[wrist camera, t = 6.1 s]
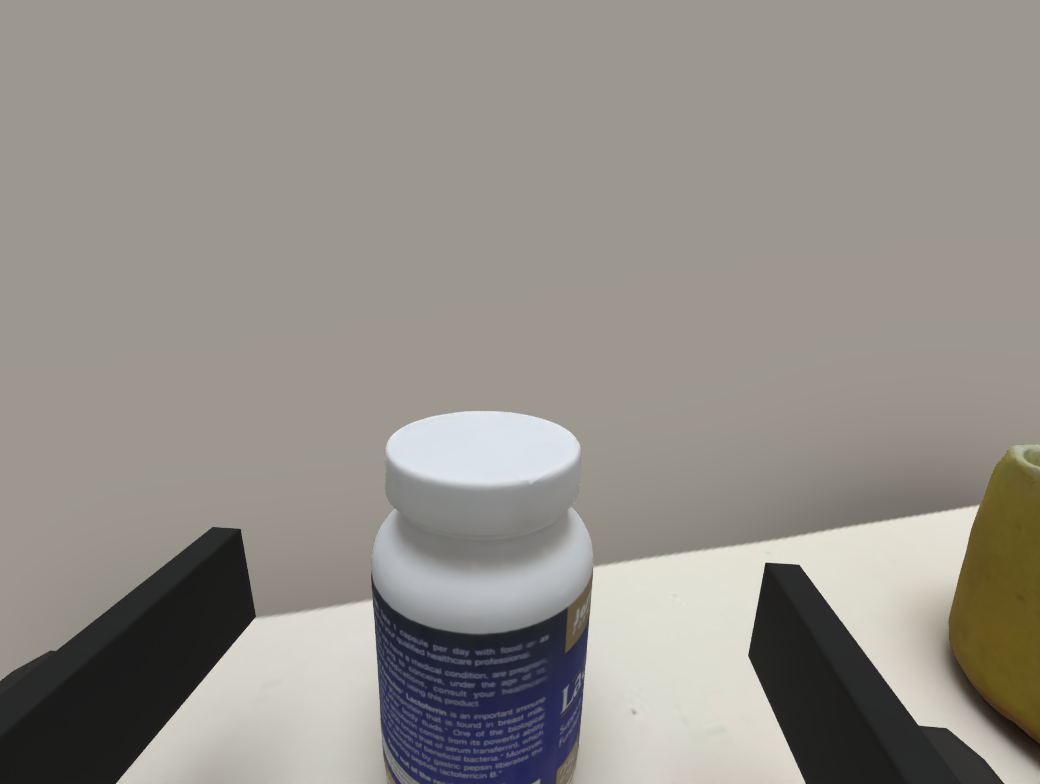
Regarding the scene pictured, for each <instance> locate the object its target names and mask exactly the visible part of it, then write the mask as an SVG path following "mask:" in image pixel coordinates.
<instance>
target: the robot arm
mask: <svg viewBox="0 0 1040 784" xmlns="http://www.w3.org/2000/svg"><path fill="white" fill-rule="evenodd" d="M255 617H256V615H255V609H254V603H253V597H252V592H251V587H250V580H249V575H248V569H247V563H246V558H245V553H244V546H243V541H242V534H241V529H233V528H218V527H212V528H211V529H210V530H208V531H207V532H206V533H205V534H204V535H202V536H201V537H200V538H198V539H197V540H196V541H195V542H193V543H192V544H191V545H190V546H188V547H187V548H186V549H185V550H183V551H182V552H181V553H179V554H178V555H177V556H176V557H175V558H173V559H172V560H171V561H169V562H168V563H167V564H165V566H163V567H162V568H160V569H159V570H158V571H157V572H156V573H154V574H153V575H152V576H150V577H149V578H148V579H147V580H145V581H144V582H143V583H141V584H140V585H139V586H138V587H136V588H135V589H134V590H133V591H131V592H130V593H129V594H128V595H126V596H125V597H124V598H123V599H121V600H120V601H119V602H117V603H116V604H115V605H114V606H113V607H111V608H110V609H109V610H108V611H106V612H105V613H104V614H102V615H101V616H100V617H99V618H97V619H96V620H95V621H93V623H91V624H90V625H88V626H87V627H86V628H85V629H84V630H82V631H81V632H80V633H78V634H77V635H76V636H75V637H74V638H72V639H71V640H70V641H68V642H67V643H66V644H65V645H63V646H62V647H61V648H59V649H58V650H57V651H49V652H47V653H45V654H44V655H42V656H40V657H38V658H36V659H34V660H33V661H31V662H29V663H27V664H26V665H23V666H22V667H20V668H18V669H16V670H14V671H13V672H11V673H10V674H9V675H8V676H6V677H5V678H4V679H2V680H1V681H0V784H116V783H117V782H118V780H119V779H120V778H121V777H122V776H123V774H124V773H125V772H126V771H127V770H128V768H129V767H130V766H131V765H132V764H133V762H134V761H135V760H136V759H137V758H138V756H139V755H140V754H141V753H142V752H143V751H144V749H145V748H146V747H147V746H148V745H149V743H150V742H151V741H152V740H153V739H154V737H155V736H156V735H157V734H158V733H159V731H160V730H161V729H162V728H163V727H164V725H165V724H166V723H167V722H168V721H169V720H170V718H171V717H172V716H173V715H174V714H175V712H176V711H177V710H178V709H179V708H180V706H181V705H182V704H183V703H184V702H185V700H186V699H187V698H188V697H189V696H190V694H191V693H192V692H193V691H194V690H195V689H196V687H197V686H198V685H199V684H200V683H201V681H202V680H203V679H204V678H205V677H206V675H207V674H208V673H209V672H210V671H211V669H212V668H213V667H214V666H215V665H216V663H217V662H218V661H219V660H220V659H221V658H222V656H223V655H224V654H225V653H226V652H227V650H228V649H229V648H230V647H231V646H232V644H233V643H234V642H235V641H236V640H237V638H238V637H239V636H240V635H241V634H242V633H243V631H244V630H245V629H246V628H247V627H248V625H249V624H250V623H251V622H252V621H253V619H254V618H255ZM748 656H749V659H750V661H751V663H752V665H753V667H754V670H755V672H756V674H757V676H758V679H759V681H760V683H761V685H762V687H763V690H764V692H765V694H766V696H767V699H768V701H769V703H770V705H771V707H772V710H773V712H774V714H775V716H776V718H777V721H778V723H779V725H780V727H781V730H782V732H783V734H784V736H785V738H786V741H787V743H788V745H789V747H790V750H791V752H792V754H793V756H794V758H795V761H796V763H797V765H798V767H799V769H800V772H801V774H802V776H803V778H804V781H805V783H806V784H1004V783H1003V782H1002V780H1001V779H1000V778H999V777H998V776H997V774H996V773H995V772H994V771H993V769H992V768H991V767H990V766H989V765H988V763H987V762H986V761H985V760H984V759H983V758H982V757H981V756H979V755H978V754H977V753H976V752H975V751H973V750H972V749H971V748H970V747H969V746H967V745H966V744H965V743H964V742H963V741H961V740H960V739H959V738H958V737H957V736H955V735H954V734H953V733H952V732H951V731H949V730H948V729H947V728H937V727H926V726H918V724H917V723H916V722H915V720H914V719H913V718H912V716H911V715H910V714H909V712H908V711H907V709H906V708H905V707H904V705H903V704H902V703H901V701H900V700H899V699H898V697H897V696H896V695H895V693H894V692H893V691H892V689H891V688H890V687H889V685H888V684H887V683H886V681H885V680H884V678H883V677H882V676H881V674H880V673H879V672H878V670H877V669H876V668H875V666H874V665H873V664H872V662H871V661H870V660H869V658H868V657H867V656H866V654H865V653H864V652H863V650H862V649H861V647H860V646H859V645H858V643H857V642H856V641H855V639H854V638H853V637H852V635H851V634H850V633H849V631H848V630H847V629H846V627H845V626H844V625H843V623H842V622H841V621H840V619H839V618H838V616H837V615H836V614H835V612H834V611H833V610H832V608H831V607H830V606H829V604H828V603H827V602H826V600H825V599H824V598H823V596H822V595H821V594H820V592H819V591H818V589H817V588H816V587H815V585H814V584H813V583H812V581H811V580H810V579H809V577H808V576H807V575H806V573H805V572H804V571H803V569H802V568H801V567H800V565H793V564H778V563H765V568H764V574H763V579H762V585H761V590H760V595H759V601H758V606H757V611H756V617H755V622H754V628H753V633H752V638H751V644H750V649H749V654H748Z"/></svg>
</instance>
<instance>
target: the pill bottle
mask: <svg viewBox="0 0 1040 784" xmlns="http://www.w3.org/2000/svg"><path fill="white" fill-rule="evenodd" d="M385 463H386V464H385V466H386V483H385V490H386V495H387V498H388V500H389V502H390V503H391V505H393V507H394V508H395V509H394V510H393V511H392V512H391V513H390V514H389V516H388V517H387V518H386V520H385V521H384V522H383V524H382V526H381V527H380V529H379V531H378V533H377V536H376V538H375V541H374V545H373V551H372V559H371V580H372V594H373V608H374V620H375V634H376V650H377V663H378V680H379V695H380V714H381V731H382V743H383V755H384V762H385V768H386V773H387V777H388V781H389V784H569V783H570V780H571V778H572V775H573V772H574V769H575V764H576V759H577V752H578V745H579V735H580V724H581V712H582V700H583V687H584V675H585V664H586V653H587V639H588V627H589V615H590V604H591V590H592V579H593V548H592V543H591V539H590V536H589V533H588V531H587V529H586V527H585V525H584V523H583V521H582V520H581V518H580V517H579V516H578V514H577V513H576V512H575V510H574V509H573V508H572V507H571V506H572V505H573V503H574V502H575V500H576V498H577V496H578V493H579V482H580V481H579V480H580V463H581V449H580V444H579V443H578V441H577V439H576V438H575V436H574V435H573V434H571V433H570V432H569V431H568V430H566V429H565V428H563V427H561V426H559V425H557V424H555V423H553V422H550V421H547V420H544V419H541V418H537V417H533V416H529V415H523V414H518V413H509V412H495V411H467V412H457V413H450V414H444V415H438V416H433V417H428V418H425V419H422V420H418V421H415V422H413V423H410V424H408V425H406V426H404V427H403V428H401V429H399V430H398V431H397V432H395V433H394V434H393V435H392V436H391V437H390V439H389V440H388V443H387V445H386V449H385Z"/></svg>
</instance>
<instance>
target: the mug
mask: <svg viewBox="0 0 1040 784" xmlns="http://www.w3.org/2000/svg"><path fill="white" fill-rule="evenodd" d="M949 639H950V643H951V647H952V650H953V653H954V655H955V657H956V659H957V661H958V663H959V664H960V666H961V668H962V669H963V671H964V672H965V674H966V675H967V677H968V678H969V680H970V682H971V683H972V685H973V686H974V687H975V689H976V690H977V691H978V692H979V694H980V695H981V696H982V697H983V699H984V700H985V701H986V702H987V703H989V704H990V705H991V706H992V707H993V708H994V709H995V710H997V711H998V712H999V713H1000V714H1001V715H1003V716H1004V717H1006V718H1007V719H1009V720H1011V721H1012V722H1014V723H1016V724H1017V725H1018V726H1019V727H1020V728H1021V729H1022V730H1023V731H1024V732H1025V733H1027V734H1028V735H1029V736H1030V737H1031V738H1033V739H1034V740H1035V741H1036V742H1038V743H1039V744H1040V445H1035V444H1023V445H1013V446H1011V447H1010V448H1009V449H1008V451H1007V453H1006V454H1005V456H1004V457H1003V458H1002V459H1001V460H1000V461H999V462H998V464H997V465H996V467H995V469H994V471H993V473H992V475H991V478H990V481H989V484H988V487H987V490H986V493H985V496H984V499H983V501H982V503H981V505H980V507H979V509H978V512H977V515H976V517H975V520H974V523H973V526H972V529H971V533H970V537H969V541H968V546H967V550H966V554H965V558H964V561H963V564H962V568H961V571H960V575H959V579H958V583H957V588H956V592H955V596H954V600H953V603H952V607H951V612H950V616H949Z"/></svg>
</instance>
